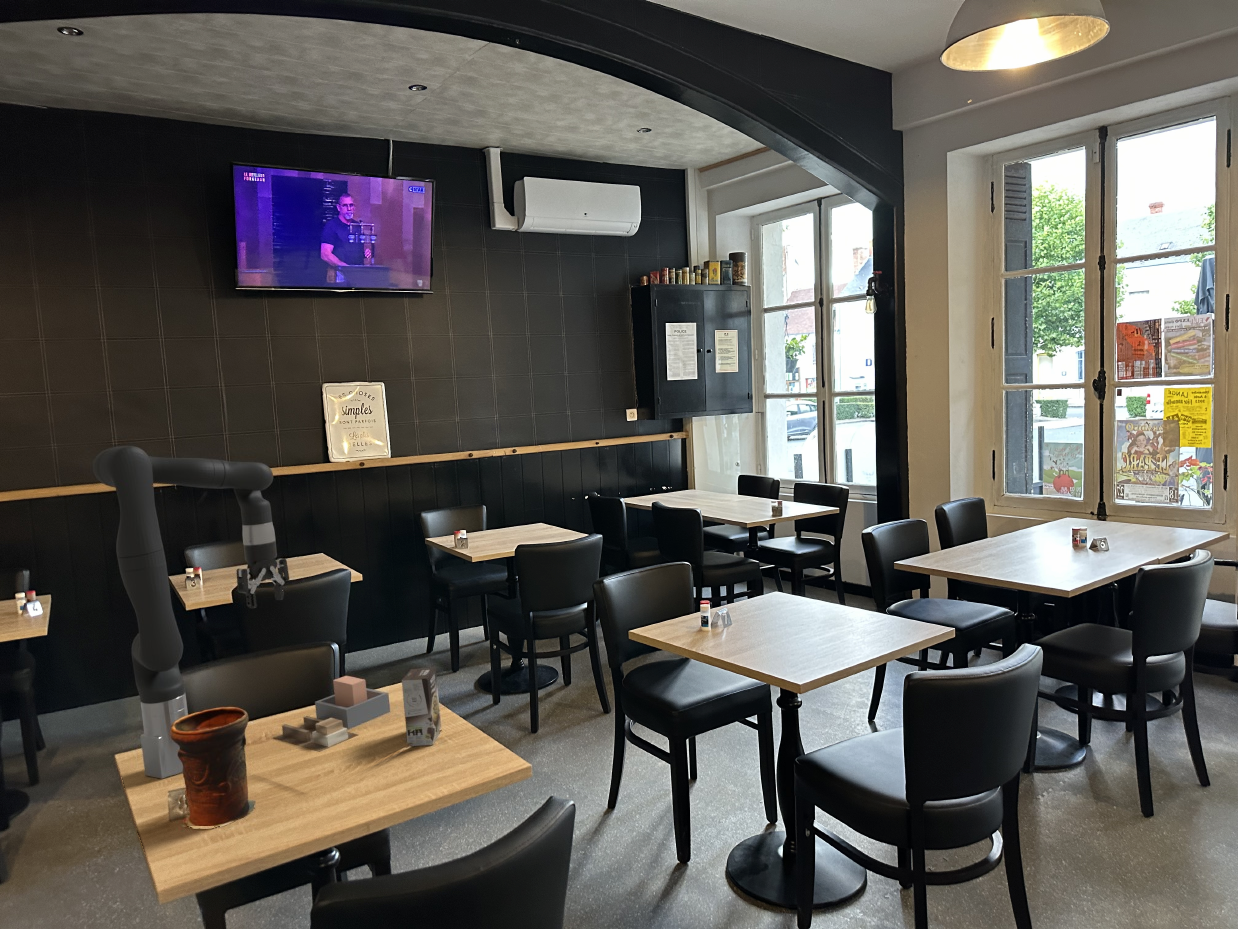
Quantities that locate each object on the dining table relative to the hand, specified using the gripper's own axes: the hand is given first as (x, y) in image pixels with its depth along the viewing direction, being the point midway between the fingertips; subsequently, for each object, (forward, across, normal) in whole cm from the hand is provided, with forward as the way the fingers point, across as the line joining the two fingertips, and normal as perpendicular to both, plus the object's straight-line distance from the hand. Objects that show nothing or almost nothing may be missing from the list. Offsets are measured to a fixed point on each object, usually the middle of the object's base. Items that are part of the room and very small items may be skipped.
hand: (266, 603), depth 222 cm
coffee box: (+32, +4, -44) cm, 55 cm away
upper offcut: (+29, -6, -23) cm, 37 cm away
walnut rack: (+32, -5, -17) cm, 37 cm away
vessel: (+32, -40, -27) cm, 58 cm away
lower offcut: (+31, -6, -23) cm, 39 cm away
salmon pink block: (+32, +9, -17) cm, 37 cm away
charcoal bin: (+32, +9, -17) cm, 37 cm away
